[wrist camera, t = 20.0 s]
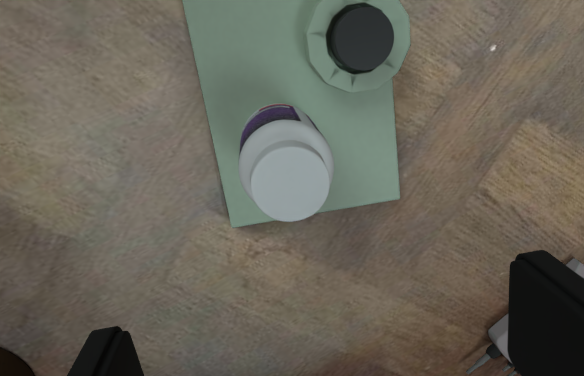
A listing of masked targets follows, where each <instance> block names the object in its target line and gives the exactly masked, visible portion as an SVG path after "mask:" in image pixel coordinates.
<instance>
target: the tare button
mask: <svg viewBox="0 0 584 376" xmlns="http://www.w3.org/2000/svg"><path fill="white" fill-rule="evenodd" d="M393 43H394V30H393V27H392V24H391V22H390V20H389V19H388V17H387V16H386V15H385V14H384V13H383V12H381V11H380V10H378V9H376V8H372V7H360V8H356V9H352V10H350V11H347V12H345V13H344V14H343V15H341V16H340V17H339V18H338V19H337V21H336V22H335V24H334V25H333V28H332V30H331V34H330V46H331V50H332V53H333V55H334V56H335V58H336V59H337V60H338V62H340V63H341V64H342V65H344V66H346V67H348V68H351V69H355V70H359V71H366V70H371V69H374V68H376V67H378V66H379V65H381V64H382V63H383V62H384V61H385V60H386V59H387V57H388V56H389V54H390V52H391V50H392V47H393Z"/></svg>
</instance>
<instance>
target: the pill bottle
mask: <svg viewBox="0 0 584 376" xmlns="http://www.w3.org/2000/svg"><path fill="white" fill-rule="evenodd" d="M238 170H239V177H240V181H241V184H242V186H243V189H244V190H245V192H246V193H247V195H248V196H249V197H250V199H251V200H252V201H253V202H255V203H256V205H257V206H258V208H259V209H260V210H261V211H262V212H263V213H265V214H266V215H268V216H269V217H271V218H273V219H276V220H279V221H285V222H294V221H299V220H303V219H305V218H308V217H310V216H311V215H313V214H314V213H316V212H317V211H318V210H319V209H320V208H321V206H322V205H323V204H324V202H325V201H326V198H327V196H328V193H329V189H330V184H331V182H332V178H333V174H334V158H333V154H332V151H331V148H330V146H329V144H328V142H327V141H326V139H325V137H324V136H323V135H322V134H321V132H320V131H319V129H318V128H317V127H316V125H315V124H314V122H313V121H312V120H311V119H310V117H309V116H308V115H307V114H305V113H304V112H303V111H302V110H300V109H299V108H297V107H295V106H292V105H288V104H283V103H275V104H270V105H266V106H264V107H262V108H260V109H258V110H257V111H255V112H254V113H253V114H252V115H251V116H250V117H249V118H248V120H247V121H246V123H245V125H244V127H243V130H242V133H241V138H240V153H239V162H238Z"/></svg>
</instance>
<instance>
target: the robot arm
mask: <svg viewBox="0 0 584 376" xmlns="http://www.w3.org/2000/svg"><path fill="white" fill-rule="evenodd" d="M507 350H508V355H509V358H510V360H511V362H512V364H513V365H514V367H515V368H516V369H517V371H518V372H519V373H520V374H521V376H584V278H583V277H581V276H580V275H578V274H577V273H576V272H574V271H573V270H571V269H570V268H569V267H567V266H566V265H565V264H563V263H562V262H560V261H559V260H558V259H556V258H555V257H554V256H552V255H551V254H549V253H548V252H546V251H544V250H539V251H533V252H527V253H522V254H519V255H517V257H516V259H515V261H513V262H511V264H510V278H509V311H508V345H507ZM67 376H144V374H143V371H142V368H141V365H140V362H139V359H138V356H137V353H136V350H135V347H134V344H133V341H132V338H131V335H130V333H129V332H128V331H122V329H121V328H120V327H118V326H115V327H109V328H104V329H98V330H94V331H92V332H91V333H90V335H89V337H88V338H87V340H86V342H85V344H84V346H83V348H82V349H81V351H80V353H79V355H78V357H77V359H76V360H75V362H74V364H73V366H72V368H71V370H70V371H69V373H68V375H67Z"/></svg>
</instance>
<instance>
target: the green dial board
mask: <svg viewBox="0 0 584 376" xmlns="http://www.w3.org/2000/svg"><path fill="white" fill-rule="evenodd" d="M182 2H183V7H184V11H185V16H186V20H187V25H188V30H189V34H190V39H191V43H192V48H193V53H194V57H195V62H196V66H197V71H198V76H199V80H200V85H201V89H202V94H203V99H204V103H205V108H206V112H207V117H208V122H209V126H210V131H211V135H212V140H213V145H214V149H215V154H216V158H217V163H218V168H219V172H220V177H221V181H222V186H223V190H224V195H225V200H226V204H227V209H228V213H229V218H230V223H231V227H232V228H235V227H241V226H247V225H252V224H258V223H264V222H270V221H275V220H276V219H273V218H271V217H269V216H268V215H266V214H265V213H263V212H262V211H261V210H260V209H259V208H258V206H257V205H256V203H255V202H253V201H252V200H251V199H250V197H249V196H248V195H247V193H246V192H245V190H244V189H243V186H242V184H241V181H240V177H239V170H238V162H239V153H240V138H241V133H242V130H243V127H244V125H245V123H246V121H247V120H248V118H249V117H250V116H251V115H252V114H253V113H254V112H255V111H257V110H258V109H260V108H262V107H264V106H266V105H270V104H275V103H283V104H288V105H292V106H295V107H297V108H299V109H300V110H302V111H303V112H304V113H305V114H307V115H308V116H309V117H310V119H311V120H312V121H313V122H314V124H315V125H316V127H317V128H318V129H319V131H320V132H321V134H322V135H323V136H324V137H325V139H326V141H327V142H328V144H329V146H330V148H331V151H332V154H333V158H334V174H333V178H332V182H331V184H330V189H329V193H328V196H327V198H326V201H325V202H324V204H323V205H322V206H321V208H320V209H319V210H318V211H317V212H316V213H322V212H327V211H333V210H339V209H345V208H351V207H356V206H362V205H368V204H374V203H379V202H385V201H391V200H397V199H400V187H399V172H398V157H397V142H396V127H395V112H394V97H393V82H392V77H393V76H394V75H396V74H397V73H398V71H399V70H400V68H401V65H402V63H403V61H404V59H405V57H406V54H407V52H408V50H409V48H410V45H411V44H410V25H409V16H408V14H407V13H406V11H405V9H404V8H403V6H402V5H401V3H400V1H399V0H182ZM360 7H372V8H376V9H378V10H380V11H381V12H383V13H384V14H385V15H386V16H387V17H388V19H389V20H390V22H391V24H392V27H393V30H394V43H393V47H392V50H391V52H390V54H389V56H388V57H387V59H386V60H385V61H384V62H383V63H382V64H381V65H379V66H378V67H376V68H374V69H371V70H366V71H359V70H355V69H351V68H348V67H346V66H344V65H342V64H341V63H340V62H338V60H337V59H336V58H335V56H334V55H333V53H332V50H331V46H330V34H331V30H332V28H333V25H334V24H335V22H336V21H337V19H338V18H339V17H340V16H341V15H343V14H344V13H345V12H347V11H350V10H352V9H356V8H360ZM316 213H314V214H316Z"/></svg>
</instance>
